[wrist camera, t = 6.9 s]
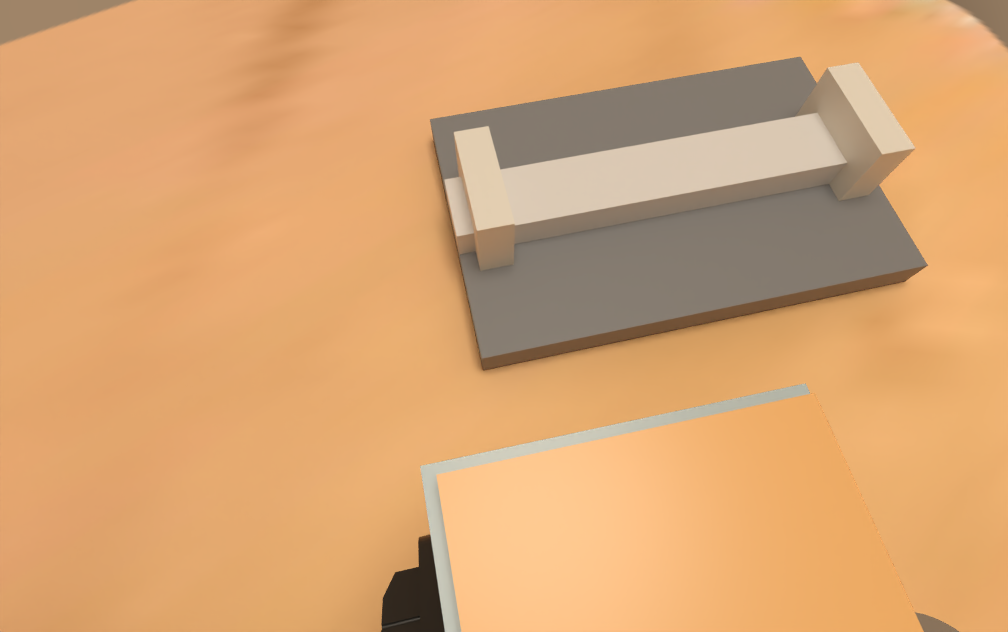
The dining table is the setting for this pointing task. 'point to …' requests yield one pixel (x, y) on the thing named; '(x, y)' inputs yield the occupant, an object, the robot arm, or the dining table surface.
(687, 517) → the plate
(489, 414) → the dining table surface
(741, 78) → the mounting board
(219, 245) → the dining table surface
